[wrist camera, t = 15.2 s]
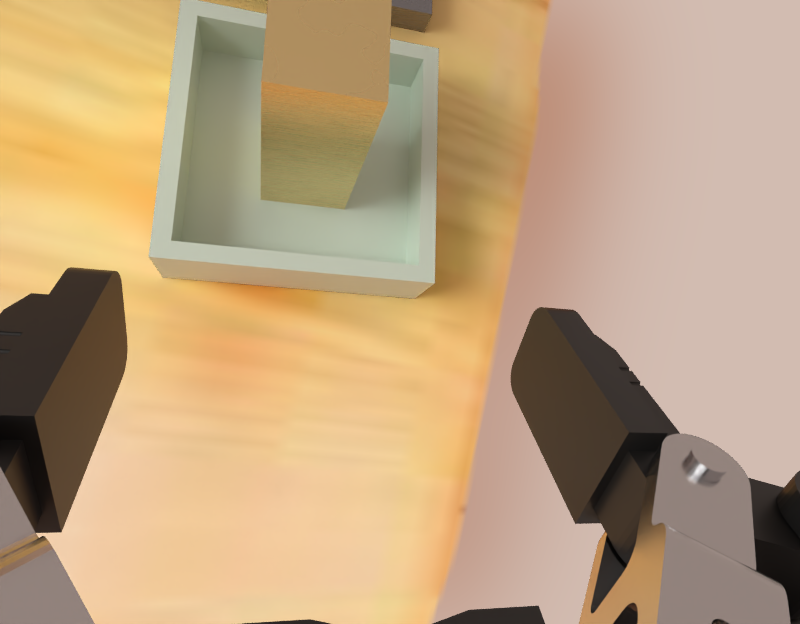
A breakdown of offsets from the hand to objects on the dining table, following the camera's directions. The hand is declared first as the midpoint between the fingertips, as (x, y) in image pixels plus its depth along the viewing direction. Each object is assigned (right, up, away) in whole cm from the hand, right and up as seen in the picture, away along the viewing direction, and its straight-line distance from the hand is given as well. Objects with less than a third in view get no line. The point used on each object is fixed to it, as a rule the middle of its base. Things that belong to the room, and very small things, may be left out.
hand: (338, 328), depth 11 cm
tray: (-4, +8, +18) cm, 20 cm away
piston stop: (-4, +8, +17) cm, 19 cm away
